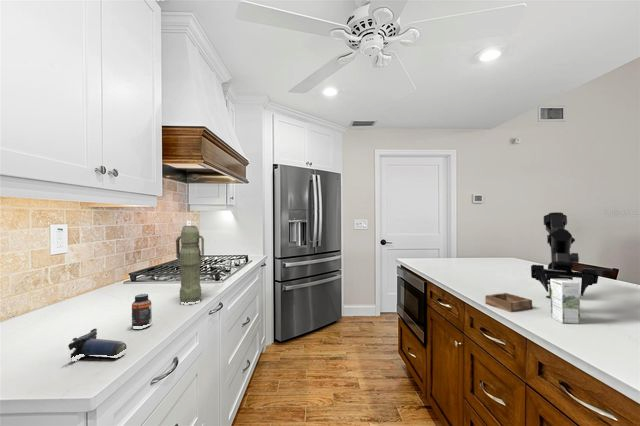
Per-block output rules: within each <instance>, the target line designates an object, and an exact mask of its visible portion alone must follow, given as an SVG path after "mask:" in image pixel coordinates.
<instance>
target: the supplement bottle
mask: <svg viewBox="0 0 640 426" xmlns="http://www.w3.org/2000/svg"><path fill="white" fill-rule="evenodd" d="M152 316H153V315H152V300H151V299H149V294H148V293H140V294H136V295H135V296H134V302H132V303H131V327H132V326H143V325H147V324H150V323H151V322H152Z"/></svg>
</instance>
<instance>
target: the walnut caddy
mask: <svg viewBox="0 0 640 426" xmlns="http://www.w3.org/2000/svg"><path fill="white" fill-rule="evenodd" d="M485 305H489V306H490V307H495V308H497V309H500V310H504V311H506V312H509V313H515V312H521V311H526V310H531V309H533V300H532V299H530V298H525V297H523V296H519V295H514V294H511V293H508V292H507V293H506V292H502V293H501V292H500V293H495V294H487V295H485Z"/></svg>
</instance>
